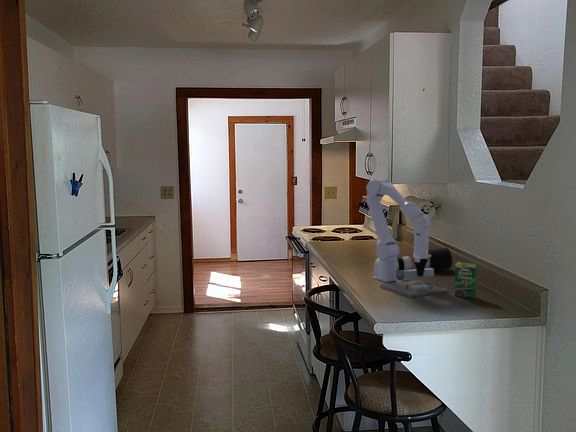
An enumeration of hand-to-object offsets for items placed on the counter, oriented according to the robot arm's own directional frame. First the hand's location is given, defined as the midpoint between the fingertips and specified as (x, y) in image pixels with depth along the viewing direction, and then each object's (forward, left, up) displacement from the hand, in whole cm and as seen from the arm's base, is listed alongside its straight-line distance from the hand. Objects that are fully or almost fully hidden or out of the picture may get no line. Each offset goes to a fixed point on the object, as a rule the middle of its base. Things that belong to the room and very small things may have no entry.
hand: (420, 276), depth 223 cm
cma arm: (-3, -1, -1) cm, 3 cm away
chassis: (+3, -7, -4) cm, 8 cm away
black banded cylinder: (-22, +17, -5) cm, 28 cm away
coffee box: (+21, +3, -4) cm, 22 cm away
